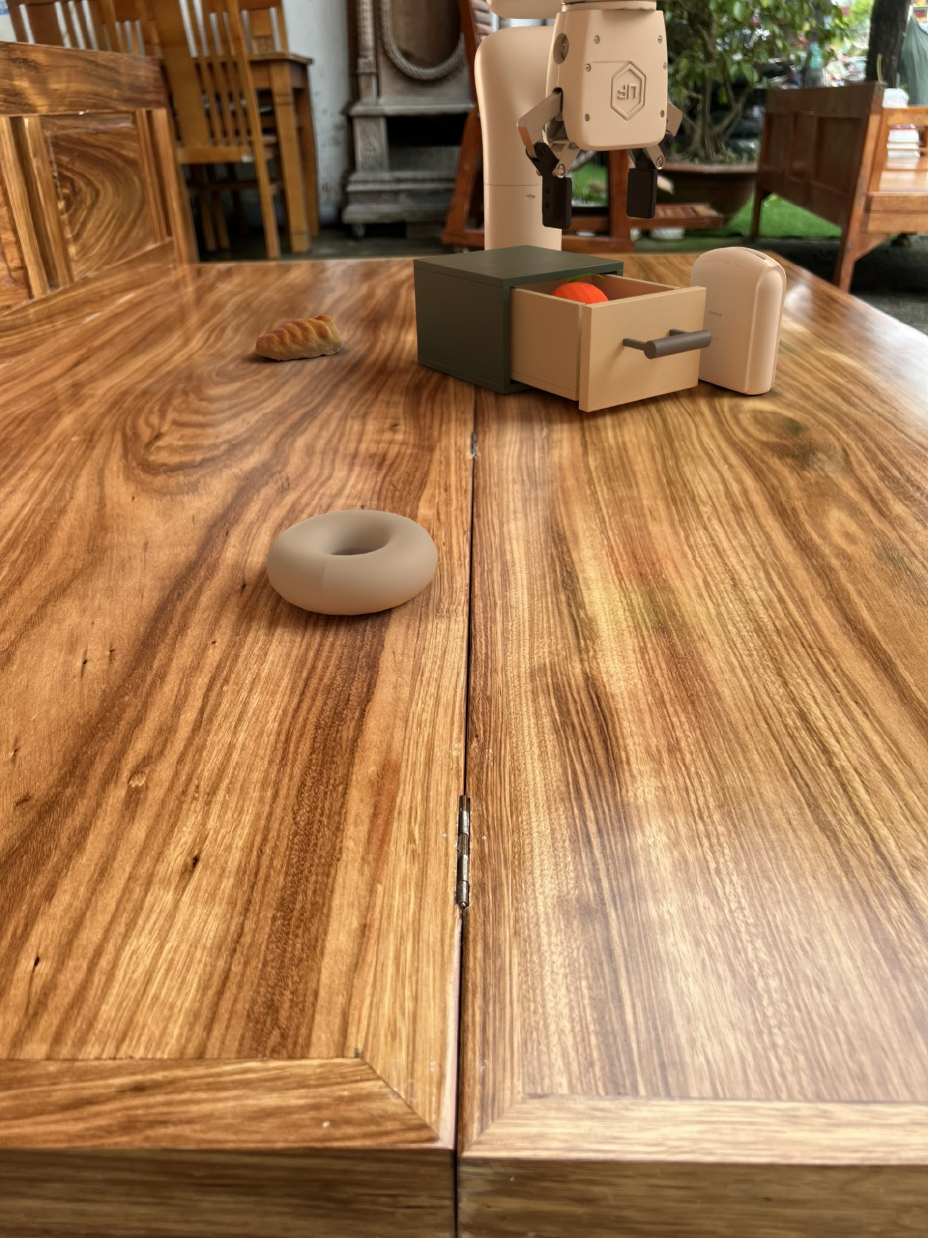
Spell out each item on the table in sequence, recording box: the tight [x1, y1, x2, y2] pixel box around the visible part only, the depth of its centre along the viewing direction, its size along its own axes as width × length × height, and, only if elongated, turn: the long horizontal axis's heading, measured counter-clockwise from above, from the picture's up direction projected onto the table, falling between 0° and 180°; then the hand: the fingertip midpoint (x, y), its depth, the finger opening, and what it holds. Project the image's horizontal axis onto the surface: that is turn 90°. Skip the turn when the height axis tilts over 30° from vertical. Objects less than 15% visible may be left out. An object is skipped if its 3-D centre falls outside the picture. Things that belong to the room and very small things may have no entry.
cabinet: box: [412, 245, 625, 395], centre depth 98 cm, size 16×15×11 cm
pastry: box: [254, 314, 343, 362], centre depth 107 cm, size 9×7×4 cm
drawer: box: [510, 273, 711, 413], centre depth 88 cm, size 19×13×9 cm
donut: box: [265, 509, 439, 616], centre depth 56 cm, size 10×4×10 cm
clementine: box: [550, 274, 608, 305], centre depth 90 cm, size 8×7×7 cm
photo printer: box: [689, 246, 787, 395], centre depth 90 cm, size 10×4×12 cm, turn 26°
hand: (599, 222), depth 84 cm, fingers open, 9 cm apart
